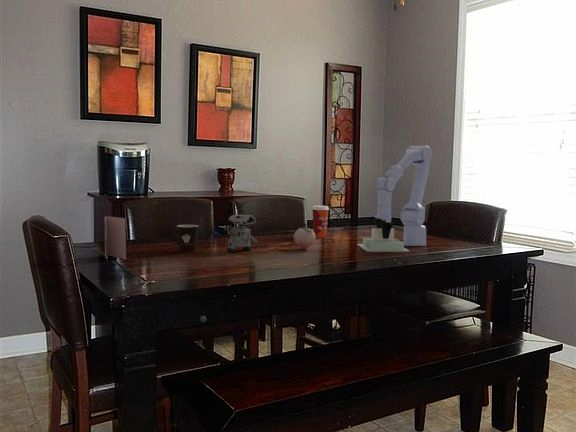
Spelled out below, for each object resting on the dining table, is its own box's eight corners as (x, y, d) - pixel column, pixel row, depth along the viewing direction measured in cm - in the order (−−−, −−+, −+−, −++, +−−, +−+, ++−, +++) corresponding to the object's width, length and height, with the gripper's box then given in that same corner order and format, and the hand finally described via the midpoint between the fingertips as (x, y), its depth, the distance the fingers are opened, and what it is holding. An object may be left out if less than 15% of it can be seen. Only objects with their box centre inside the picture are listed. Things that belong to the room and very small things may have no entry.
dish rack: (397, 245, 244) (397, 237, 244) (409, 251, 228) (410, 243, 227) (357, 245, 242) (357, 237, 242) (367, 251, 226) (367, 243, 225)
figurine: (241, 255, 212) (242, 216, 211) (224, 250, 221) (225, 213, 219) (260, 252, 218) (260, 215, 217) (243, 248, 227) (243, 212, 225)
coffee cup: (322, 239, 258) (322, 207, 257) (307, 237, 263) (308, 206, 262) (331, 237, 265) (332, 206, 264) (317, 235, 270) (318, 205, 268)
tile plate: (391, 246, 237) (392, 228, 236) (393, 247, 234) (394, 229, 233) (371, 246, 236) (372, 228, 235) (372, 247, 233) (373, 228, 232)
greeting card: (102, 256, 205) (101, 216, 203) (123, 255, 208) (122, 215, 206) (104, 261, 194) (103, 219, 193) (126, 260, 197) (125, 218, 195)
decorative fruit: (319, 249, 228) (320, 225, 227) (306, 251, 222) (307, 227, 221) (302, 246, 235) (303, 223, 234) (289, 249, 229) (290, 225, 228)
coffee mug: (202, 250, 222) (203, 225, 221) (190, 253, 214) (190, 227, 213) (179, 247, 227) (179, 223, 226) (166, 250, 219) (166, 225, 218)
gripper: (370, 204, 240) (369, 234, 241) (379, 207, 225) (378, 239, 227) (386, 204, 241) (385, 235, 242) (396, 207, 226) (395, 239, 228)
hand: (383, 237), depth 234 cm, fingers open, 7 cm apart
